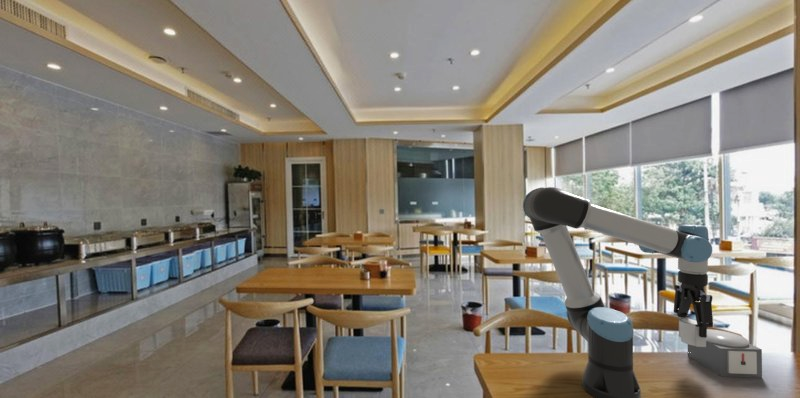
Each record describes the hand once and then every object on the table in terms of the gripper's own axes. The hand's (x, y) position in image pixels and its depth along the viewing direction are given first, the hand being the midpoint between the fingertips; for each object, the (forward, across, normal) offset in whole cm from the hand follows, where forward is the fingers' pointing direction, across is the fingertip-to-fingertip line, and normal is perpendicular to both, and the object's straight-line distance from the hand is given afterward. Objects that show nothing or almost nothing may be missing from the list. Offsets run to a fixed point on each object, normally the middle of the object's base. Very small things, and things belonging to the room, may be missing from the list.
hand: (691, 341), depth 114 cm
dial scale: (+10, +6, -14) cm, 18 cm away
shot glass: (+1, 0, 0) cm, 1 cm away
